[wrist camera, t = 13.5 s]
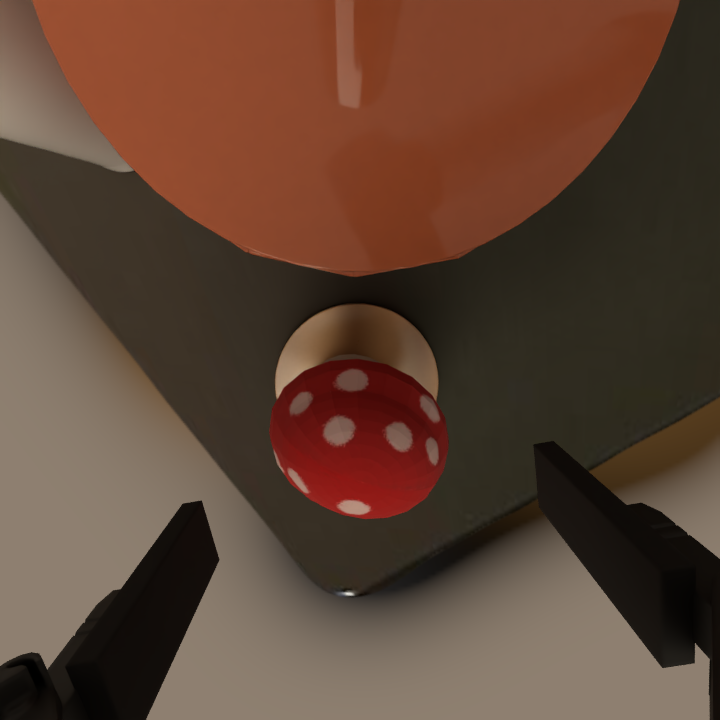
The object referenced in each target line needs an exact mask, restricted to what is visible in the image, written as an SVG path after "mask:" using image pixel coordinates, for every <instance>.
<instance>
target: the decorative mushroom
mask: <svg viewBox="0 0 720 720" xmlns="http://www.w3.org/2000/svg"><path fill="white" fill-rule="evenodd" d="M269 433H270V438H271V442H272V446H273V450H274V454H275V457H276V461H277V464H278V466H279V467H280V468H281V470H282V471H283V473H284V474H285V476H286V477H287V479H288V480H289V482H290V483H291V484H292V485H293V486H294V487H295V488H297V489H298V490H299V491H300V492H302V493H303V494H304V495H305V496H307V497H308V498H309V499H310V500H312V501H314V502H316V503H318V504H320V505H321V506H323V507H325V508H328V509H330V510H332V511H335V512H337V513H339V514H342V515H346V516H352V517H357V518H363V519H371V518H387V517H390V516H394V515H397V514H400V513H403V512H406V511H408V510H409V509H411V508H412V507H414V506H415V505H417V504H418V503H419V502H421V501H422V500H424V499H425V498H426V497H427V495H428V494H429V493H430V491H431V490H432V488H433V487H434V485H435V484H436V482H437V480H438V479H439V477H440V475H441V474H442V472H443V470H444V466H445V461H446V456H447V452H448V444H449V440H448V433H447V427H446V421H445V417H444V415H443V413H442V411H441V410H440V408H439V406H438V404H437V402H436V401H435V399H434V397H433V395H432V394H430V393H429V392H428V391H427V390H426V389H425V388H424V387H423V386H422V385H421V384H420V383H419V382H418V381H416V380H415V379H414V378H413V377H412V376H410V375H408V374H406V373H404V372H402V371H400V370H398V369H396V368H393V367H391V366H389V365H387V364H383V363H380V362H378V361H376V360H374V359H372V358H369V357H365V356H361V355H356V354H349V355H339V356H336V357H333V358H330V359H328V360H326V361H325V362H324V363H322V364H320V365H317V366H315V367H312V368H309V369H307V370H304V371H303V372H302V373H301V374H299V375H298V376H297V377H296V378H295V379H293V380H292V381H291V382H290V383H289V384H288V385H286V386H285V387H284V388H283V390H282V392H281V394H280V395H279V397H278V399H277V401H276V403H275V405H274V406H273V408H272V414H271V423H270V431H269Z"/></svg>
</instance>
